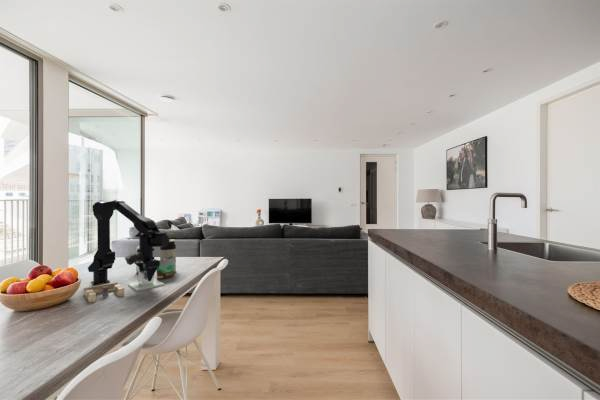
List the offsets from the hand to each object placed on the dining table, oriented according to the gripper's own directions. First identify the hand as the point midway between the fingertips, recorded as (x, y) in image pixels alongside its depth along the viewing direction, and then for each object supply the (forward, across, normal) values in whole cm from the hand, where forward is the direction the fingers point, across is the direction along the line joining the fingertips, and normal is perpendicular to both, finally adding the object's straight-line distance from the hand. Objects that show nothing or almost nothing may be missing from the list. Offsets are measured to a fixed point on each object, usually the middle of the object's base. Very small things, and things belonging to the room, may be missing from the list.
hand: (146, 279), depth 132 cm
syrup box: (+3, -29, +8) cm, 30 cm away
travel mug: (+3, -18, +17) cm, 25 cm away
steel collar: (+2, 0, 0) cm, 2 cm away
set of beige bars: (+3, +1, -17) cm, 17 cm away
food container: (+3, -7, +13) cm, 15 cm away
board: (+3, 0, 0) cm, 3 cm away
